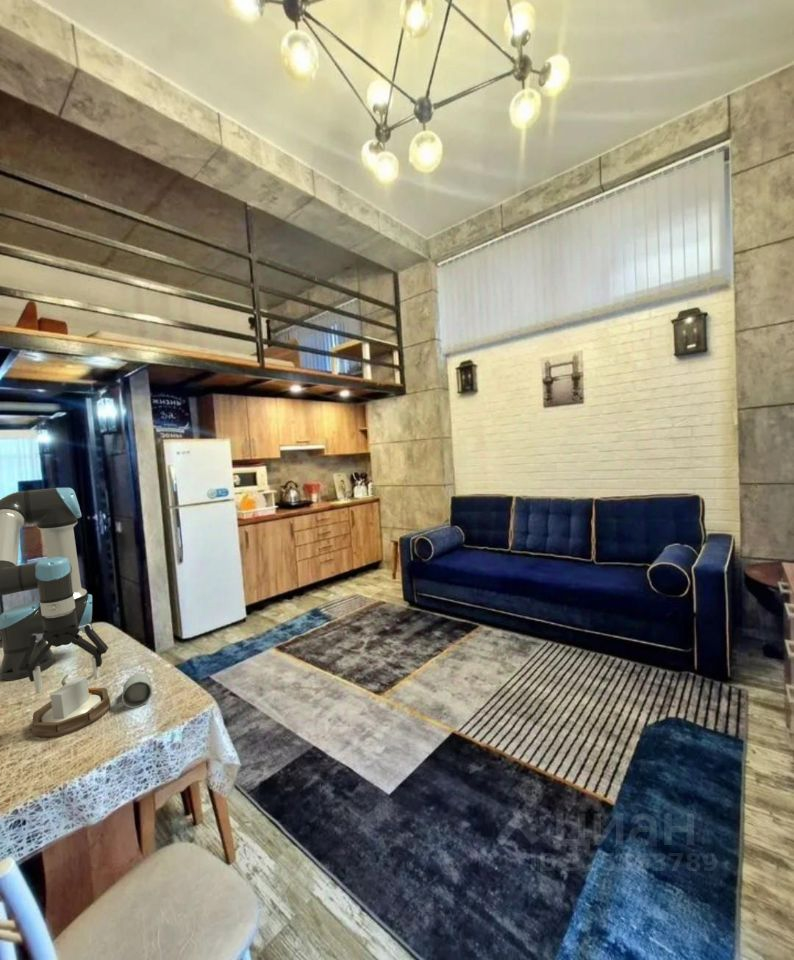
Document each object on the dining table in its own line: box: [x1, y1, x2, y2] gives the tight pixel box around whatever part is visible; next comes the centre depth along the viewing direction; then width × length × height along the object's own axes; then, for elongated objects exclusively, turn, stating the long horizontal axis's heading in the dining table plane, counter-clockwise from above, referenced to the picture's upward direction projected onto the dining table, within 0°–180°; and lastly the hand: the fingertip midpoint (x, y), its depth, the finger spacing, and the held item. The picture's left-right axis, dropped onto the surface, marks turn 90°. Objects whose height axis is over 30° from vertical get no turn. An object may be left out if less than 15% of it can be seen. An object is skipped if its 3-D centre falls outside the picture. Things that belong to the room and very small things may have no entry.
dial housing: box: [31, 687, 112, 739], centre depth 122 cm, size 18×18×4 cm
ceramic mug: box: [110, 672, 153, 711], centre depth 128 cm, size 11×8×8 cm
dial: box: [42, 676, 101, 722], centre depth 122 cm, size 14×14×8 cm
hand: (68, 683), depth 122 cm, fingers open, 13 cm apart
